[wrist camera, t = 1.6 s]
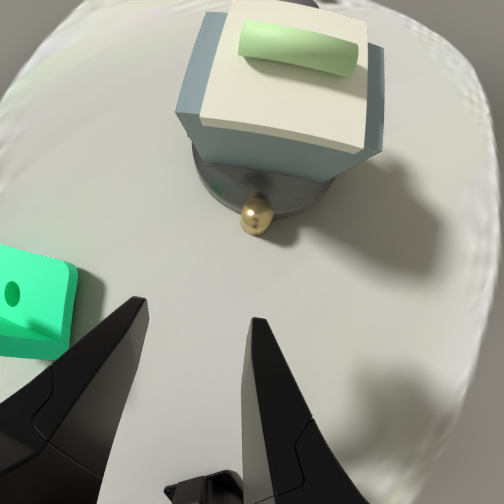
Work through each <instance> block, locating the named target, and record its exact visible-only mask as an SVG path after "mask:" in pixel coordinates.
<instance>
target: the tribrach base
mask: <svg viewBox="0 0 504 504" xmlns="http://www.w3.org/2000/svg"><path fill="white" fill-rule="evenodd" d="M187 135H188V134H187ZM188 137H189V136H188ZM192 150H193V157H194V161H195V165H196V169H197V172H198V175H199V177H200V179H201V182H202V183H203V185H204V186H205V188H206V189H207V190H208V192H209V193H210V194H211V195H212V196H213V197H214V198H215V199H216V200H217V201H218V202H220V203H221V204H223V205H224V206H225V207H227V208H229V209H231V210H233V211H235V212H237V213H240V214H241V226H242V228H243V230H244V231H245V232H246V233H248V234H250V235H260V234H262V233H264V232H265V231H266V230H267V228H268V226H269V224H270V222H271V220H272V219H278V218H284V217H288V216H292V215H295V214H297V213H300V212H302V211H304V210H305V209H307V208H309V207H310V206H311V205H313V204H314V203H315V202H316V201H317V200H318V199H319V198H320V197H321V196H322V195H323V194H324V192H325V191H326V190H327V189H328V188H329V187H330V185H331V184H332V182H333V181H334V179H335V177H336V176H335V177H333V178H331V179H329V180H327V181H325V182H323V183H322V182H317V181H312V180H307V179H302V178H297V177H292V176H287V175H282V174H276V173H271V172H265V171H259V170H254V169H247V168H241V167H235V166H228V165H221V164H214V163H207V162H203V160H202V158H201V156H200V155H199V153H198V151H197V149H196V148H195V146H194V144H193V142H192Z"/></svg>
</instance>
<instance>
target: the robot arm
mask: <svg viewBox="0 0 504 504" xmlns="http://www.w3.org/2000/svg"><path fill="white" fill-rule="evenodd" d="M148 323H149V313H148V305H147V300H146V299H145V298H142V297H137V296H133V297H131V298H130V299H129V300H127V301H126V302H125V303H124V304H122V305H121V306H120V307H119V308H117V309H116V310H115V311H114V312H112V313H111V314H110V315H109V316H108V317H106V318H105V319H104V320H103V321H101V322H100V323H99V324H98V325H97V326H95V327H94V328H93V329H92V330H91V331H89V332H88V333H87V334H86V335H85V336H83V337H82V338H81V339H80V340H79V341H77V342H76V343H75V344H74V345H73V346H72V347H70V348H69V349H68V350H67V351H66V352H65V353H63V354H62V355H61V356H60V357H59V358H58V359H56V360H55V361H54V362H53V363H52V365H49V366H48V367H47V368H46V369H45V370H44V371H42V372H41V373H40V374H39V375H38V376H36V377H35V378H34V379H33V380H32V381H31V382H29V383H28V384H27V385H25V386H24V387H23V388H21V389H20V390H19V391H17V392H16V393H14V394H13V395H12V396H10V397H9V398H7V399H6V400H5V401H3V402H2V403H0V504H97V500H98V496H99V492H100V488H101V484H102V480H103V476H104V472H105V469H106V465H107V461H108V458H109V455H110V451H111V448H112V444H113V441H114V438H115V435H116V431H117V428H118V425H119V422H120V419H121V416H122V412H123V409H124V406H125V403H126V400H127V397H128V394H129V392H130V389H131V386H132V383H133V380H134V377H135V374H136V371H137V368H138V365H139V361H140V356H141V352H142V348H143V344H144V340H145V335H146V331H147V328H148ZM241 412H242V459H243V489H242V488H241V486H240V485H239V484H238V482H237V481H236V480H235V478H234V477H233V475H232V474H231V473H230V472H229V471H227V470H223V471H220V472H217V473H214V474H211V475H207V476H200V477H197V478H193V479H189V480H186V481H182V482H179V483H178V484H174V485H170V486H166V487H165V488H164V493H165V495H166V496H167V497H168V498H169V500H170V501H171V502H172V504H370V503H369V502H368V501H367V500H366V499H365V498H364V497H363V496H362V495H361V493H360V492H359V491H358V489H357V488H356V486H355V485H354V484H353V482H352V481H351V479H350V478H349V476H348V475H347V474H346V472H345V471H344V469H343V468H342V466H341V465H340V463H339V462H338V461H337V459H336V457H335V456H334V454H333V453H332V451H331V450H330V448H329V446H328V445H327V443H326V441H325V439H324V437H323V435H322V434H321V432H320V430H319V428H318V426H317V424H316V422H315V420H314V418H312V414H311V412H310V410H309V408H308V406H307V404H306V401H305V399H304V397H303V395H302V393H301V391H300V389H299V387H298V385H297V383H296V381H295V379H294V377H293V375H292V372H291V370H290V368H289V366H288V364H287V362H286V360H285V358H284V356H283V354H282V351H281V349H280V347H279V345H278V343H277V341H276V339H275V337H274V335H273V332H272V330H271V328H270V326H269V324H268V322H267V320H266V319H264V318H257V317H253V318H252V319H251V322H250V326H249V330H248V335H247V340H246V349H245V357H244V365H243V374H242V383H241ZM311 418H312V419H311ZM223 475H227V477H224V476H223ZM167 490H169V491H171V492H169V491H167Z"/></svg>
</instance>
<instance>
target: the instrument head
mask: <svg viewBox="0 0 504 504" xmlns="http://www.w3.org/2000/svg"><path fill="white" fill-rule="evenodd" d="M384 93H385V80H384V48H382V47H379V46H376V45H374V44H371V43H368V40H367V23H365V22H362V21H359V20H356V19H353V18H350V17H347V16H344V15H340V14H337V13H333V12H329V11H326V10H322V9H319V7H318V5H317V4H316V3H315V2H314V1H313V0H232V3H231V6H230V9H229V12H228V13H220V12H206V14H205V17H204V19H203V22H202V25H201V28H200V31H199V33H198V36H197V39H196V42H195V45H194V48H193V51H192V54H191V58H190V61H189V64H188V67H187V70H186V74H185V77H184V81H183V84H182V88H181V91H180V95H179V98H178V102H177V106H176V110H175V113H176V115H177V116H178V118H179V120H180V122H181V123H182V125H183V127H184V129H185V130H186V132H187V134H188V136H189V137H190V139H191V141H192V142H193V144H194V146H195V148H196V149H197V151H198V153H199V155H200V156H201V158H202V160H203V162H207V163H214V164H221V165H228V166H235V167H241V168H247V169H254V170H259V171H265V172H271V173H276V174H282V175H287V176H292V177H297V178H302V179H307V180H312V181H317V182H322V183H323V182H325V181H327V180H329V179H331V178H333V177H335V176H336V175H338V174H340V173H342V172H344V171H346V170H348V169H349V168H351V167H353V166H355V165H357V164H359V163H361V162H363V161H365V160H366V159H368V158H370V157H372V156H374V155H376V154H378V153H380V152H382V146H383V129H384Z"/></svg>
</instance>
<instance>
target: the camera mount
mask: <svg viewBox="0 0 504 504" xmlns="http://www.w3.org/2000/svg"><path fill="white" fill-rule="evenodd" d="M77 281H78V271H77V269H76V267H75V266H74V265H73V264H71V263H68V262H65V261H61V260H57V259H53V258H49V257H45V256H42V255H38V254H34V253H30V252H27V251H23V250H19V249H16V248H12V247H9V246H5V245H2V244H0V356H6V357H17V358H29V359H44V360H56V359H58V358H59V357H60V356H61V355H62V354H63V353H65V352H66V351H67V350H68V349H69V342H70V331H71V322H72V314H73V307H74V300H75V293H76V287H77Z"/></svg>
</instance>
